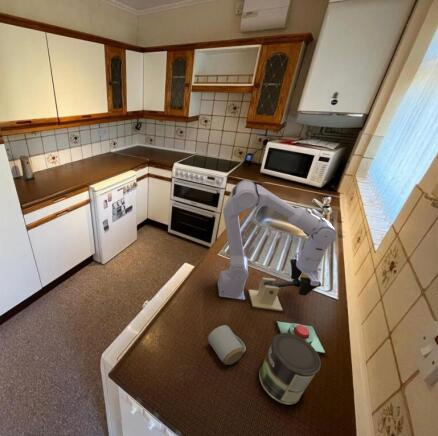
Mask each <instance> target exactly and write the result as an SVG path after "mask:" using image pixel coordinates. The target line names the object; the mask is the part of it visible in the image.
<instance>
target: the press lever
mask: <svg viewBox="0 0 438 436" xmlns="http://www.w3.org/2000/svg"><path fill="white" fill-rule="evenodd" d="M265 285H267V286H275V287H279V288H286V287H293V286H294V287H295V288H300V285H301V280H300V278H295V279H292V280H291V281H284V282H278V283H276V282H275V284H273V282H265V283H264V286H265Z"/></svg>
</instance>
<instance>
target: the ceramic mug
mask: <svg viewBox="0 0 438 436" xmlns="http://www.w3.org/2000/svg"><path fill="white" fill-rule="evenodd" d="M207 342H208V343H209V344H210V346H211V348H213V351H214V352H215V353H216V355H217V357H218V359H219V360H220V361H221V362H222V363H223V364H224V365H227V366H229V365H230V366H231V365H233V364H234V363H236V362H238V361H239V360H240V359H241V358H242V357H243V356H244V354H245V352H246V350H247V347H246V345H245V343H244V341H243V340H242V339H241V338H240V337H238V336H237V335H235V334H234V332H233V331H232V329H231V327H230V326H228V325H226V324H224V325H219V326H218V327H216V328H214V329H213V330H212V331H211V332H210V333H209V335H208V336H207Z"/></svg>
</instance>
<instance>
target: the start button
mask: <svg viewBox="0 0 438 436" xmlns="http://www.w3.org/2000/svg"><path fill="white" fill-rule="evenodd" d="M303 325H304V324H301V325H297V326H296V328H295V334H296V335H297V336H299V337H301V338H303V339H305V338H307V337H308V335H309V330H308V329H307V328H306V327H305V326H306V325H305V326H303Z"/></svg>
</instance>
